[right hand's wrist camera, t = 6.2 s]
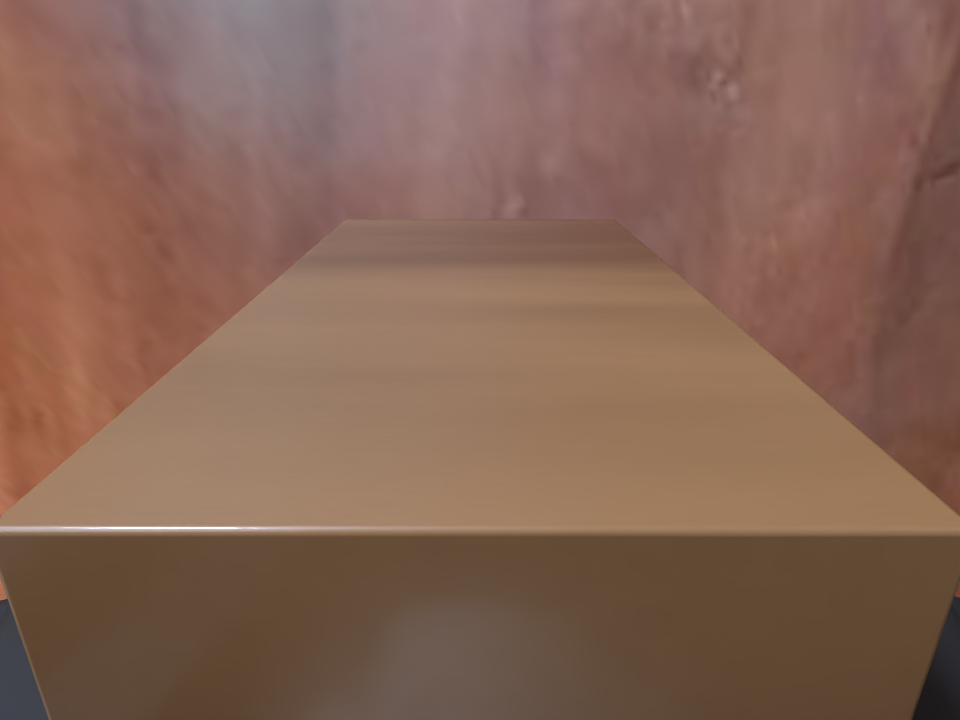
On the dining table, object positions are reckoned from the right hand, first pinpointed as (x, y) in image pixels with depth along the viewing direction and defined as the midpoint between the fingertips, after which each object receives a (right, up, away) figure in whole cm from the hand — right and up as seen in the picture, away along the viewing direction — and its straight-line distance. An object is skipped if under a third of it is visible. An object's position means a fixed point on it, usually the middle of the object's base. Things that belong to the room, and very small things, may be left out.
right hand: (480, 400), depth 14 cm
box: (0, -8, +6) cm, 9 cm away
